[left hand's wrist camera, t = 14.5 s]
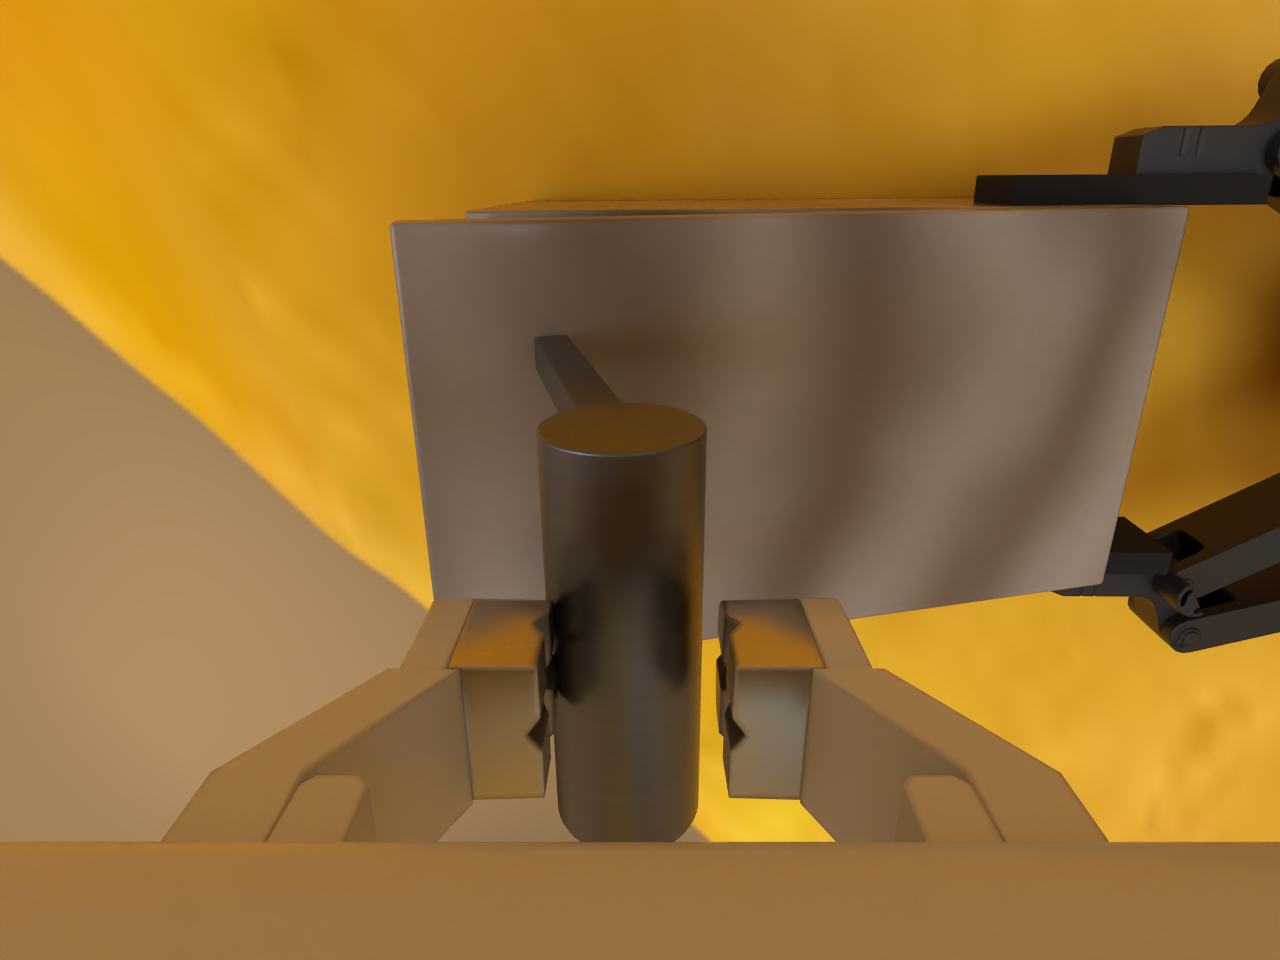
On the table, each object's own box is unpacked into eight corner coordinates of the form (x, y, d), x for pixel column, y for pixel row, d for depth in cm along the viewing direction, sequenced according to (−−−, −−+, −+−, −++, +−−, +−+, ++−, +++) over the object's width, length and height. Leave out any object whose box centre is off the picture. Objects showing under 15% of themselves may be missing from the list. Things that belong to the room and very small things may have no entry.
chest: (539, 459, 32) (494, 565, 23) (524, 201, 29) (463, 210, 20) (963, 459, 32) (1080, 567, 23) (1002, 197, 28) (1159, 205, 19)
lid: (443, 654, 19) (442, 1009, 11) (391, 220, 15) (334, 263, 7) (1076, 568, 23) (1428, 783, 15) (1155, 205, 19) (1682, 223, 11)
